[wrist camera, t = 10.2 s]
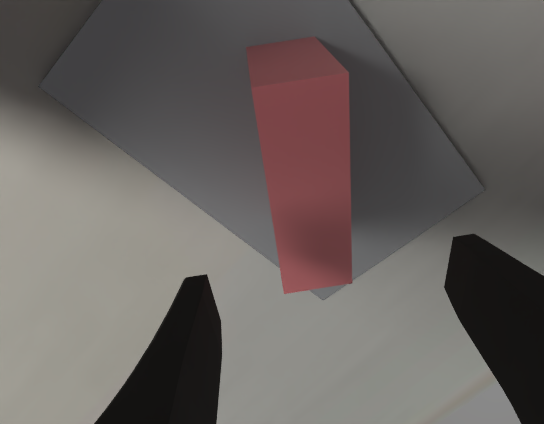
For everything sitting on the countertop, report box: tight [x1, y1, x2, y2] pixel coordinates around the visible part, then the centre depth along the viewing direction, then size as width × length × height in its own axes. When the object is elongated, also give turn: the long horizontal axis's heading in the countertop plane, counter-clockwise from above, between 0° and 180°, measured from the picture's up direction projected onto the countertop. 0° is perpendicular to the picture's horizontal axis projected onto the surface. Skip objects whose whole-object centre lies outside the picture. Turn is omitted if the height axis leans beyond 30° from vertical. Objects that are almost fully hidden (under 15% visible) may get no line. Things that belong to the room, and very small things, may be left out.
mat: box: [38, 0, 485, 300], centre depth 20 cm, size 20×12×1 cm, turn 43°
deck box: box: [246, 36, 352, 294], centre depth 17 cm, size 3×9×6 cm, turn 7°
